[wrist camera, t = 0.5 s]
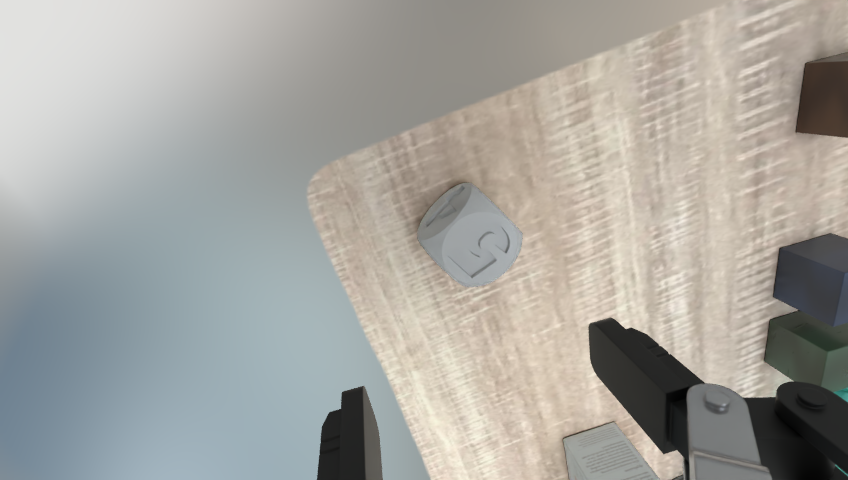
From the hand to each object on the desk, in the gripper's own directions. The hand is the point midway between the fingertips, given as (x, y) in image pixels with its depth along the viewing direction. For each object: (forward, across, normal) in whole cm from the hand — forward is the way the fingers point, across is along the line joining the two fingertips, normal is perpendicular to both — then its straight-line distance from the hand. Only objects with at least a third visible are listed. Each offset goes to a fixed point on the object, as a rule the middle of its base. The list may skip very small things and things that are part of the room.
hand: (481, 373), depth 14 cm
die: (+16, -3, +1) cm, 16 cm away
